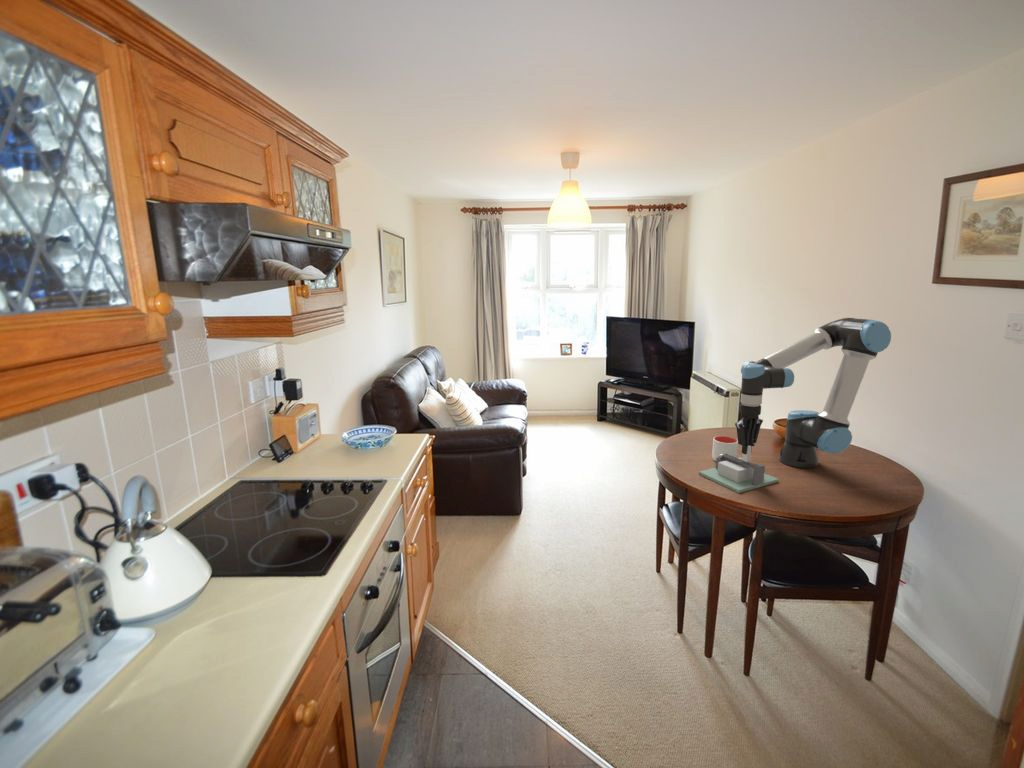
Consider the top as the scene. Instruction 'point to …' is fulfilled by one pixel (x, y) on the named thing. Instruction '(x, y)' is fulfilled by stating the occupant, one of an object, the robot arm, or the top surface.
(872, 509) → the top surface
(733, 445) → the cup
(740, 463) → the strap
